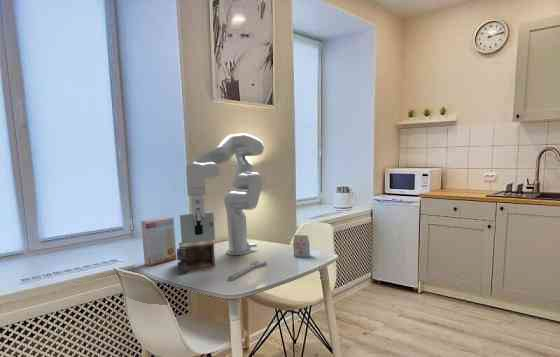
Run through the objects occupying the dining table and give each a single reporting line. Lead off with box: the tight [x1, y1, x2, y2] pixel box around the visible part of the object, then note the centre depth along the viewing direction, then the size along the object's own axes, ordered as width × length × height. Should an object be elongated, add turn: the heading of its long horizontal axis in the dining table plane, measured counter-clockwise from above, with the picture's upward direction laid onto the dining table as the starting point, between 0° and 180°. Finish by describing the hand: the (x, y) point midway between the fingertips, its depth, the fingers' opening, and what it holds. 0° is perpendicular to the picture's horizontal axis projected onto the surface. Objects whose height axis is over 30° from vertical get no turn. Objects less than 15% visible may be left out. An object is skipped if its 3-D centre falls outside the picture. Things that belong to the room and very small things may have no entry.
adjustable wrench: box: [227, 260, 268, 282], centre depth 145 cm, size 25×6×2 cm, turn 146°
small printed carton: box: [293, 234, 311, 258], centre depth 164 cm, size 4×7×10 cm, turn 63°
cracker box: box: [140, 216, 177, 267], centre depth 164 cm, size 14×6×21 cm, turn 135°
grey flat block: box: [179, 211, 216, 244], centre depth 148 cm, size 14×4×12 cm, turn 107°
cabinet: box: [176, 240, 216, 275], centre depth 154 cm, size 16×16×10 cm
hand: (198, 233), depth 148 cm, fingers closed on grey flat block, 2 cm apart
